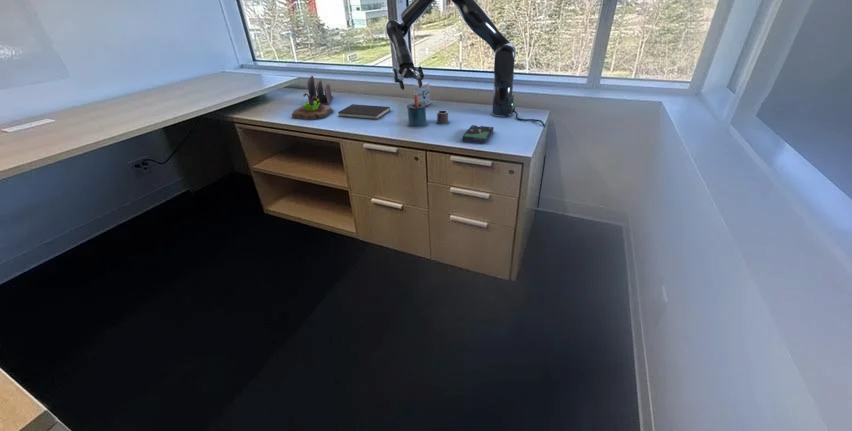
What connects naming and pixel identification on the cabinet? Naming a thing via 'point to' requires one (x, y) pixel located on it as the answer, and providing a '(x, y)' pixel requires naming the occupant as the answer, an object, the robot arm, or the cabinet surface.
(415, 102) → the straw
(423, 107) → the tumbler lid
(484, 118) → the cabinet surface
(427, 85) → the ink box
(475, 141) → the disk drive
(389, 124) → the cabinet surface
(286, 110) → the cabinet surface
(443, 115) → the straw holder
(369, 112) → the hardcover book
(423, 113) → the tumbler
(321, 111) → the plant
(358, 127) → the cabinet surface
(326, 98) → the letter holder
